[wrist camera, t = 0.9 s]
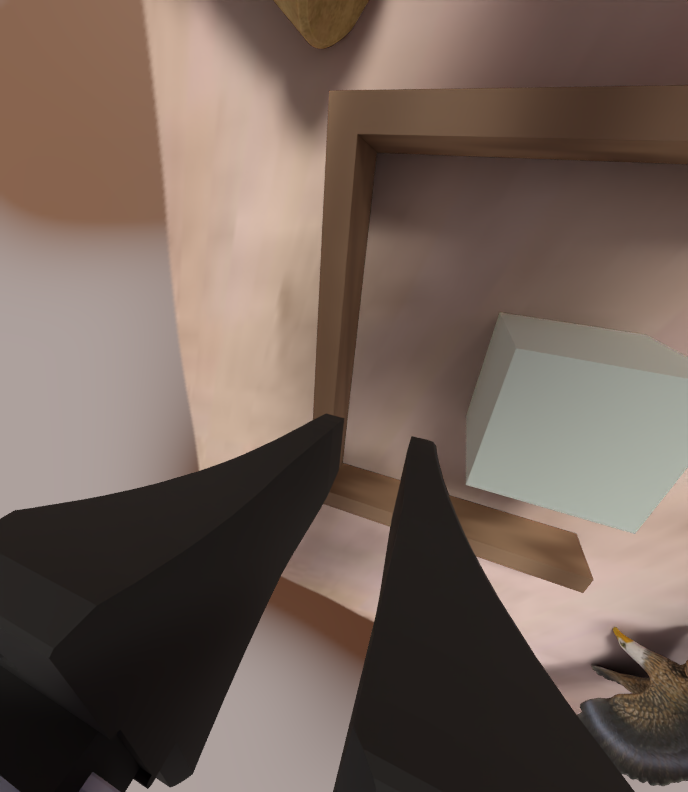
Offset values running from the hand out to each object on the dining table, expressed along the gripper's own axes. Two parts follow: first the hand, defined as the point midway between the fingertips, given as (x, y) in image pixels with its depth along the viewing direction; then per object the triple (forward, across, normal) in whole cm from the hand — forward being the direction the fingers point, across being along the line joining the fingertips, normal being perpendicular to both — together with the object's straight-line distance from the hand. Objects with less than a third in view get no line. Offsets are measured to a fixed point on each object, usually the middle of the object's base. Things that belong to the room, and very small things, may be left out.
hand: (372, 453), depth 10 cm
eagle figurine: (+10, -18, +17) cm, 27 cm away
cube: (+10, -6, 0) cm, 12 cm away
